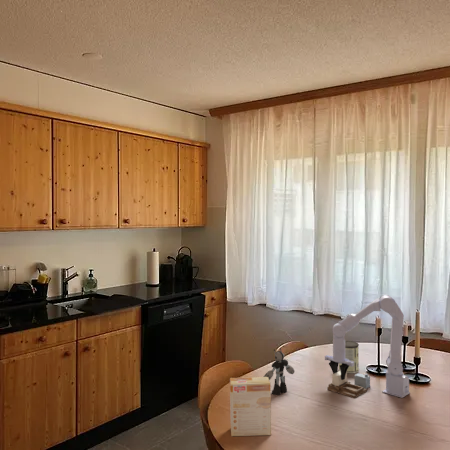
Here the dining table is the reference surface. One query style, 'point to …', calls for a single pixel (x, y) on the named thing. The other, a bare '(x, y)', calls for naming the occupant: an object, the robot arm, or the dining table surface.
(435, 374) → the dining table surface
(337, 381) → the cream rectangular block
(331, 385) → the jig
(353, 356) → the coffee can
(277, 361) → the robot
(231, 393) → the coffeecake box
